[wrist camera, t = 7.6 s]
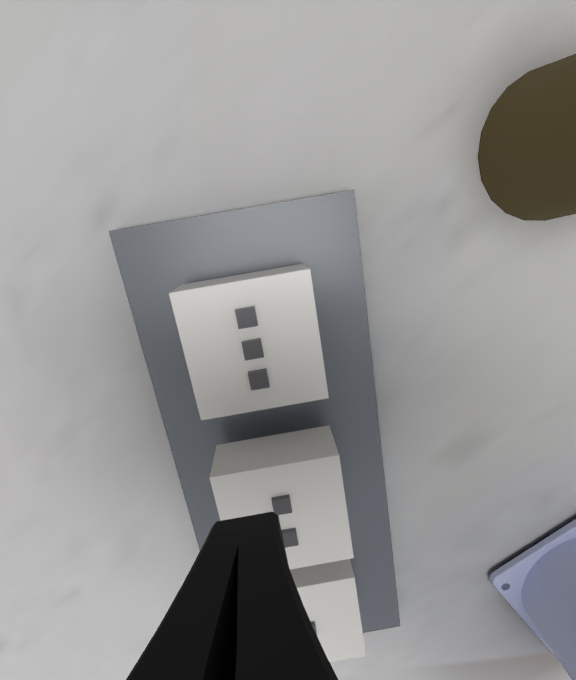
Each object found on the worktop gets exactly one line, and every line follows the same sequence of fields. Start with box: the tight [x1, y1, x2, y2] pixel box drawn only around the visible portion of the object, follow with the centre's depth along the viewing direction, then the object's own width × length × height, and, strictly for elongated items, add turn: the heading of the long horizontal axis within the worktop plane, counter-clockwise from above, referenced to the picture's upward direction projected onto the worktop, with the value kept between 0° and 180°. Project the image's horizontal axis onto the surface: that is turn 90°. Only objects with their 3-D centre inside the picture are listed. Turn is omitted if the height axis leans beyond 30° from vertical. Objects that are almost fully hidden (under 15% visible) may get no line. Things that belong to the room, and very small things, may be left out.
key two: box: [209, 425, 354, 569], centre depth 16 cm, size 5×5×2 cm
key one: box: [290, 559, 366, 662], centre depth 19 cm, size 5×5×2 cm
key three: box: [169, 264, 329, 420], centre depth 15 cm, size 5×5×2 cm
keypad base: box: [109, 190, 400, 633], centre depth 18 cm, size 24×10×2 cm, turn 9°
